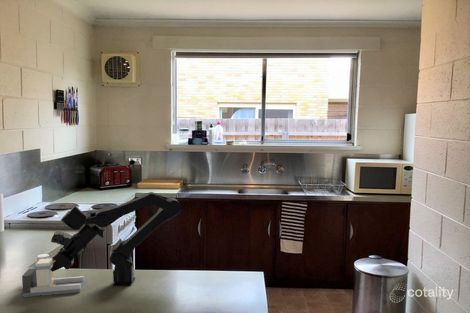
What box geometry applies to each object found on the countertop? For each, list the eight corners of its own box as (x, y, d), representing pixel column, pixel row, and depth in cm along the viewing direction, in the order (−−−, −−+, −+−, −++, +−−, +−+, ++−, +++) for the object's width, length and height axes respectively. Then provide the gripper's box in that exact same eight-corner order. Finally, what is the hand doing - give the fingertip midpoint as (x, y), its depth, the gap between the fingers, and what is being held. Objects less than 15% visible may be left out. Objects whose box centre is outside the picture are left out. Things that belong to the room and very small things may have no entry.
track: (84, 283, 142) (83, 264, 141) (80, 292, 134) (79, 272, 134) (30, 287, 139) (29, 268, 138) (22, 297, 131) (21, 276, 130)
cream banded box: (53, 282, 139) (52, 258, 138) (49, 288, 134) (48, 263, 133) (41, 283, 138) (40, 258, 137) (37, 289, 133) (35, 263, 132)
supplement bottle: (45, 283, 142) (44, 258, 141) (32, 282, 143) (31, 257, 142) (55, 278, 147) (54, 253, 146) (42, 277, 148) (41, 252, 147)
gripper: (71, 217, 144) (41, 247, 143) (59, 230, 126) (24, 265, 125) (94, 236, 147) (64, 266, 145) (85, 251, 128) (51, 286, 127)
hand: (51, 270), depth 136 cm, fingers closed, pressing on cream banded box
